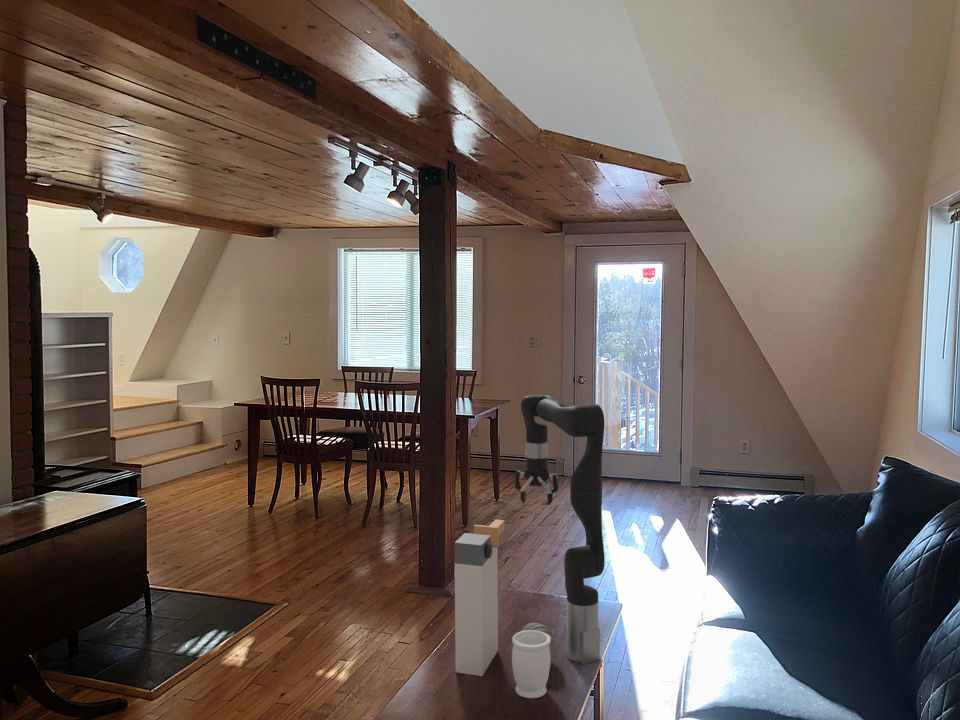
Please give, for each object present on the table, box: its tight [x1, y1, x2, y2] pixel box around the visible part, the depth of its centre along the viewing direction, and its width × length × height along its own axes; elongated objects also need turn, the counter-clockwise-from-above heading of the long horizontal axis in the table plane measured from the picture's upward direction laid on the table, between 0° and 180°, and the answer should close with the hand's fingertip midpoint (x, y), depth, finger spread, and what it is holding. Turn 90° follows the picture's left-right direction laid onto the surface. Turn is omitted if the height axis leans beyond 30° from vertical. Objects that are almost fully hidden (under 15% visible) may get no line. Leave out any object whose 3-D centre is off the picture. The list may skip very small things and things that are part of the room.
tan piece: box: [473, 519, 505, 546], centre depth 241 cm, size 16×8×5 cm, turn 163°
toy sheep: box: [520, 622, 557, 668], centre depth 226 cm, size 11×17×11 cm, turn 24°
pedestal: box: [454, 532, 499, 677], centre depth 226 cm, size 16×9×38 cm, turn 163°
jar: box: [511, 630, 552, 699], centre depth 210 cm, size 11×10×15 cm
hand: (536, 503), depth 257 cm, fingers open, 8 cm apart
